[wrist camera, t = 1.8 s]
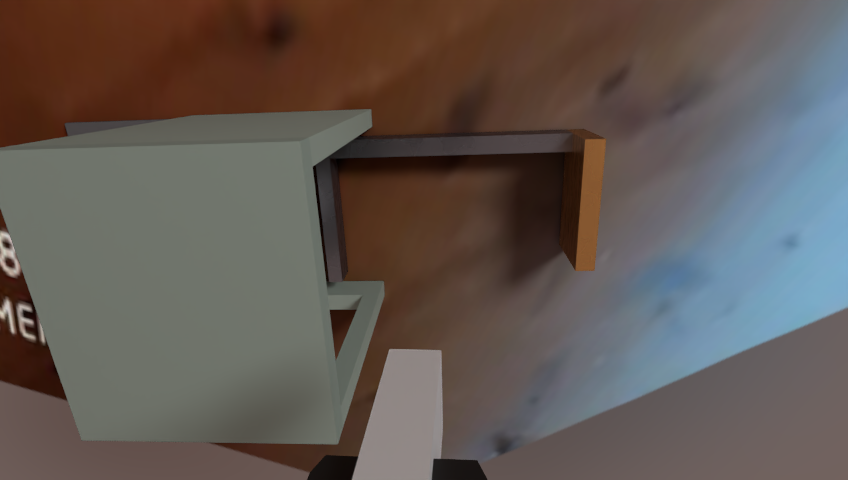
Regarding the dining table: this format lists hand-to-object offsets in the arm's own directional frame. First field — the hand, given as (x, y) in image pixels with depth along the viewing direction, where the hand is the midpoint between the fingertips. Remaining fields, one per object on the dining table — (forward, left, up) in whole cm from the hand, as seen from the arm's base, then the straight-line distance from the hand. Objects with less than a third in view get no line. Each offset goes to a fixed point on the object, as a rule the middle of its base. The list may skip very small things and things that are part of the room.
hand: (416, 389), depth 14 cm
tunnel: (-11, -1, -22) cm, 25 cm away
